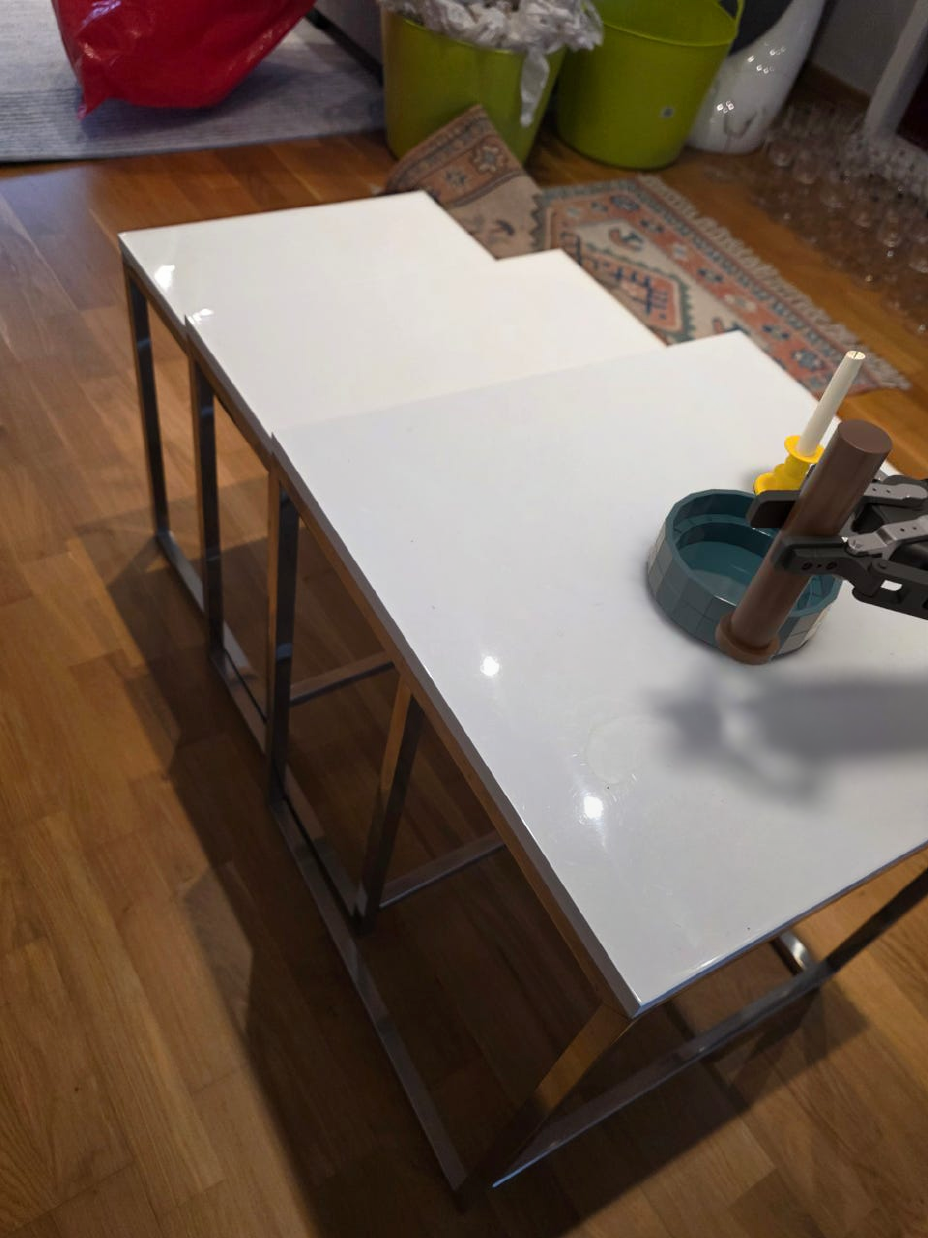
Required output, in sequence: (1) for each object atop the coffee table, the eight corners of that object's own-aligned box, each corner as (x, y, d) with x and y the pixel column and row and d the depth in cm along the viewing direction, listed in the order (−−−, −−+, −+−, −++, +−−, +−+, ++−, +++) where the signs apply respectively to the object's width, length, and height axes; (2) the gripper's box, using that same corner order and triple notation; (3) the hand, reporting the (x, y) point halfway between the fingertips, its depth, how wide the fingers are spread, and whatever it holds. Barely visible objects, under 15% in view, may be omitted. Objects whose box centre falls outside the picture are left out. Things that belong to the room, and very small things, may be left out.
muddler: (785, 657, 63) (918, 452, 51) (738, 672, 61) (863, 464, 49) (749, 613, 65) (867, 407, 53) (703, 627, 64) (813, 417, 51)
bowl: (849, 635, 77) (879, 593, 74) (712, 679, 72) (738, 635, 68) (744, 520, 85) (766, 476, 82) (613, 551, 79) (631, 505, 76)
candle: (744, 494, 88) (819, 345, 77) (765, 469, 91) (840, 323, 80) (796, 522, 86) (880, 375, 75) (815, 495, 90) (899, 350, 78)
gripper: (984, 409, 61) (742, 404, 57) (1123, 567, 52) (848, 574, 48) (924, 498, 67) (699, 499, 62) (1039, 654, 58) (787, 668, 53)
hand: (765, 532), depth 55 cm, fingers closed on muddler, 3 cm apart
